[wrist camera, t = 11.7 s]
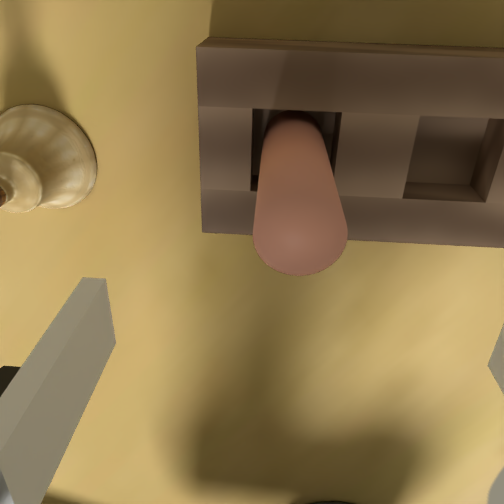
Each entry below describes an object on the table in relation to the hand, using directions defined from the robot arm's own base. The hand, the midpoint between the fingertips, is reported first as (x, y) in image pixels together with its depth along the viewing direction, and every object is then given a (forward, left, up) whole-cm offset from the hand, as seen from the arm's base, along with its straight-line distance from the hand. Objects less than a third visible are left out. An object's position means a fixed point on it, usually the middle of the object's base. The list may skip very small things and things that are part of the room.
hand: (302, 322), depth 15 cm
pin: (0, 0, -19) cm, 19 cm away
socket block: (0, -5, -21) cm, 22 cm away
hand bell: (-3, +19, -21) cm, 29 cm away
